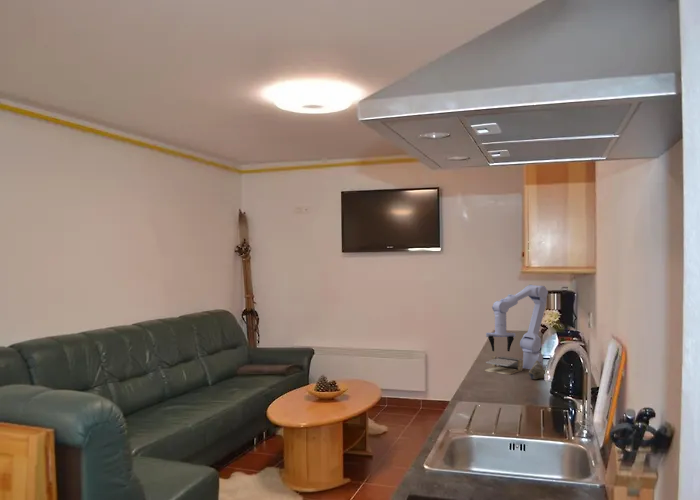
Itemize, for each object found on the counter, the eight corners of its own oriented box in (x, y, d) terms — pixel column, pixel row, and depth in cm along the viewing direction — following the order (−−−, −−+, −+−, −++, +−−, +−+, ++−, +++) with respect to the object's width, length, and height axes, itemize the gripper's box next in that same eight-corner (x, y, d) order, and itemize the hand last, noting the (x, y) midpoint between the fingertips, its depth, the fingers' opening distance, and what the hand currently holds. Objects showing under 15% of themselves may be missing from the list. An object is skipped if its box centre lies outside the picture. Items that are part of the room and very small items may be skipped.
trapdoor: (523, 367, 284) (523, 358, 284) (508, 373, 271) (508, 364, 271) (500, 364, 293) (500, 355, 293) (485, 369, 279) (485, 361, 279)
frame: (522, 370, 280) (522, 359, 280) (511, 375, 270) (511, 363, 270) (493, 366, 290) (493, 356, 290) (482, 370, 281) (482, 359, 281)
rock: (539, 358, 267) (553, 375, 262) (531, 365, 271) (544, 382, 266) (527, 362, 260) (541, 380, 255) (519, 369, 263) (532, 387, 258)
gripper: (513, 323, 282) (513, 349, 282) (484, 323, 283) (485, 349, 283) (516, 325, 275) (516, 352, 275) (487, 325, 276) (487, 352, 276)
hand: (500, 351), depth 279 cm, fingers open, 7 cm apart
